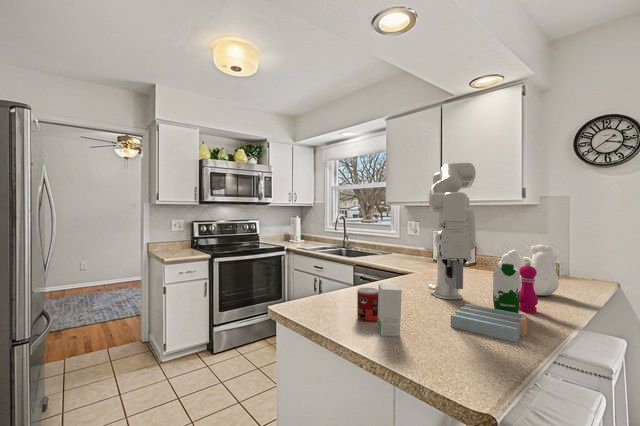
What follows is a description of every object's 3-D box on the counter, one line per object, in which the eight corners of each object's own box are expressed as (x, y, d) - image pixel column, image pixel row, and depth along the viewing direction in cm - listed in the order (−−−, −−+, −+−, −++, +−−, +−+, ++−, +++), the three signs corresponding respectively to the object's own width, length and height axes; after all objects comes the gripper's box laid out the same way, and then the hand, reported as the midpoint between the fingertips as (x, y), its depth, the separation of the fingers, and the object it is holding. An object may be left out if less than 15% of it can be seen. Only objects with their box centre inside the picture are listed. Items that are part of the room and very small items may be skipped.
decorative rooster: (563, 295, 151) (564, 244, 151) (550, 301, 142) (551, 246, 142) (508, 285, 171) (508, 240, 171) (494, 289, 162) (494, 242, 162)
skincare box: (377, 327, 109) (377, 282, 109) (396, 327, 109) (396, 283, 109) (381, 336, 101) (381, 288, 101) (401, 337, 101) (402, 289, 100)
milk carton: (495, 315, 122) (496, 264, 121) (491, 308, 130) (491, 261, 130) (521, 318, 119) (522, 266, 119) (515, 311, 127) (515, 262, 127)
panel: (462, 289, 108) (463, 263, 107) (455, 289, 108) (456, 263, 107) (451, 282, 118) (451, 258, 117) (444, 282, 118) (445, 258, 117)
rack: (450, 326, 110) (450, 310, 110) (465, 313, 124) (466, 299, 124) (521, 343, 96) (521, 325, 96) (529, 326, 110) (529, 311, 110)
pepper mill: (541, 314, 124) (542, 263, 124) (521, 312, 125) (521, 263, 125) (532, 308, 131) (533, 261, 131) (514, 307, 132) (514, 260, 132)
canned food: (355, 315, 121) (355, 287, 121) (375, 315, 121) (375, 287, 121) (359, 323, 113) (359, 292, 113) (381, 322, 114) (381, 292, 114)
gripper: (435, 227, 109) (434, 279, 109) (481, 227, 108) (481, 280, 109) (428, 225, 116) (427, 275, 116) (471, 226, 116) (471, 275, 116)
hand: (453, 277), depth 113 cm, fingers closed on panel, 2 cm apart
